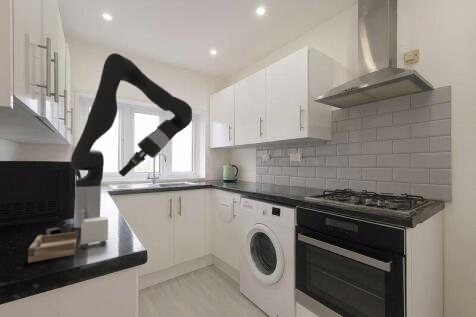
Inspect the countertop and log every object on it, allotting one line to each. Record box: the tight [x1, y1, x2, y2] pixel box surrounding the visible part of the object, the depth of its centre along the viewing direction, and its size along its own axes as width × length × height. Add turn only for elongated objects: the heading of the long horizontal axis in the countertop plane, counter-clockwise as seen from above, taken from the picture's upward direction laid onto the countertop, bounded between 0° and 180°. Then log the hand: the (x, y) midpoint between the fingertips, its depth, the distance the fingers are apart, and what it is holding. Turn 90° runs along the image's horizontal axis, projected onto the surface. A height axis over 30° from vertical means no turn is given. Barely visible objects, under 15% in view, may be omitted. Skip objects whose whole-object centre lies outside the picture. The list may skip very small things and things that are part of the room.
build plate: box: [45, 227, 62, 236], centre depth 77 cm, size 12×7×5 cm, turn 58°
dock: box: [27, 231, 78, 264], centre depth 68 cm, size 14×10×4 cm
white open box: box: [80, 210, 109, 250], centre depth 73 cm, size 5×7×12 cm
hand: (121, 174), depth 79 cm, fingers open, 8 cm apart
